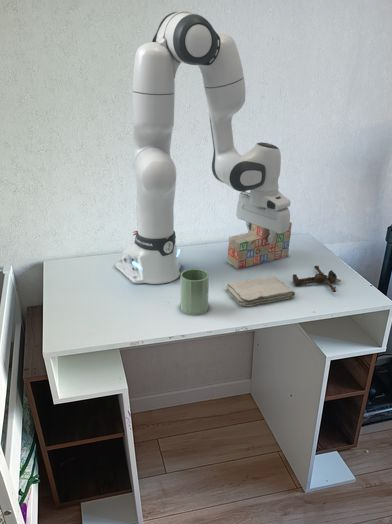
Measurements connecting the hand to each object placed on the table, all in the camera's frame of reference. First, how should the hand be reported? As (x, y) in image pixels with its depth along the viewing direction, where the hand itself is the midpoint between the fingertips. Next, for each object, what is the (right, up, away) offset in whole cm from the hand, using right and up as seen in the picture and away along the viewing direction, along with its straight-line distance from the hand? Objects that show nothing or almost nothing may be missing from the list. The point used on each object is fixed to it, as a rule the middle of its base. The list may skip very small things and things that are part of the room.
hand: (260, 238), depth 169 cm
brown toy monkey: (+16, -17, -10) cm, 25 cm away
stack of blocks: (0, -6, +4) cm, 8 cm away
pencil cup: (-22, -25, -24) cm, 41 cm away
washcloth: (-2, -21, -17) cm, 27 cm away
